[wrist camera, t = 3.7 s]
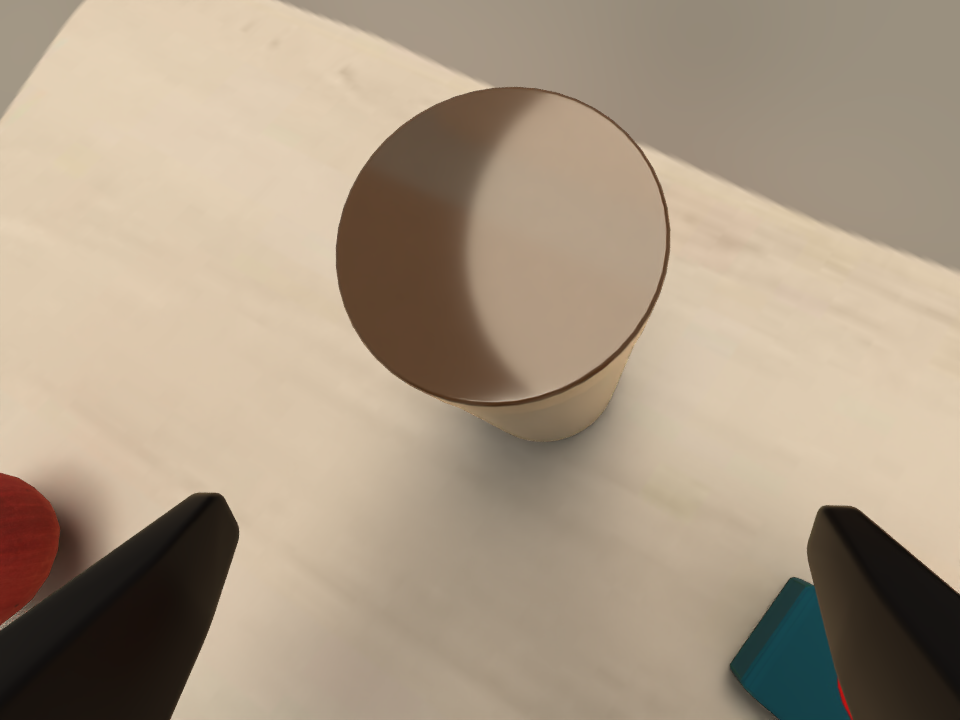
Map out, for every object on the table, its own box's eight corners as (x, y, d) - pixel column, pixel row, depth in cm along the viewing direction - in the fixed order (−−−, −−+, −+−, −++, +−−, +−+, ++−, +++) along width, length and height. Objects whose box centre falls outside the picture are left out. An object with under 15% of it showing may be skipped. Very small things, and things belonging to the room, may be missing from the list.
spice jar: (621, 443, 21) (680, 405, 9) (467, 443, 22) (325, 408, 10) (616, 292, 22) (662, 68, 10) (469, 298, 23) (342, 101, 11)
